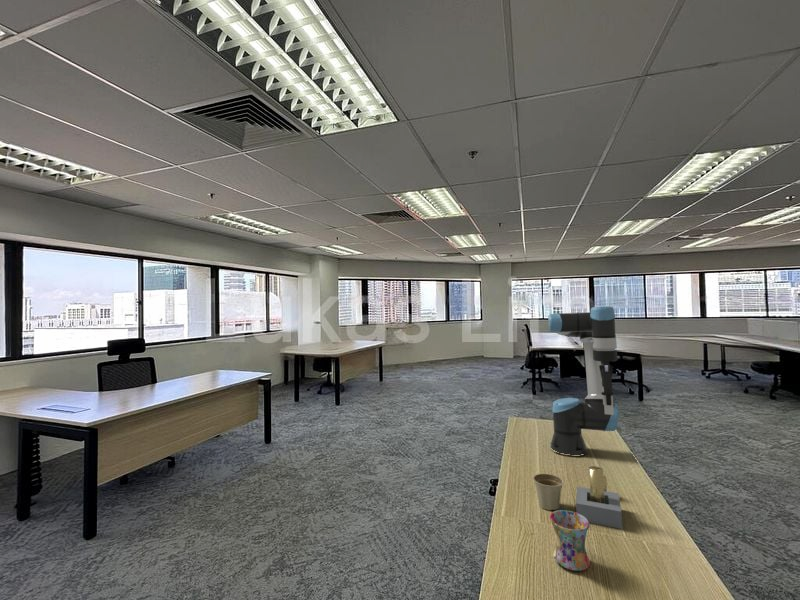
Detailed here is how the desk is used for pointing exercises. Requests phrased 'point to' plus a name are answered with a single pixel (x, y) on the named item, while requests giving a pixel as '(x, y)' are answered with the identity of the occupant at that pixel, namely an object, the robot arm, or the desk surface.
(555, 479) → the flower pot
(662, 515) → the desk surface
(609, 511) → the slate block
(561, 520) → the mug
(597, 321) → the robot arm
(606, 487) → the short pin
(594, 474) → the long pin
